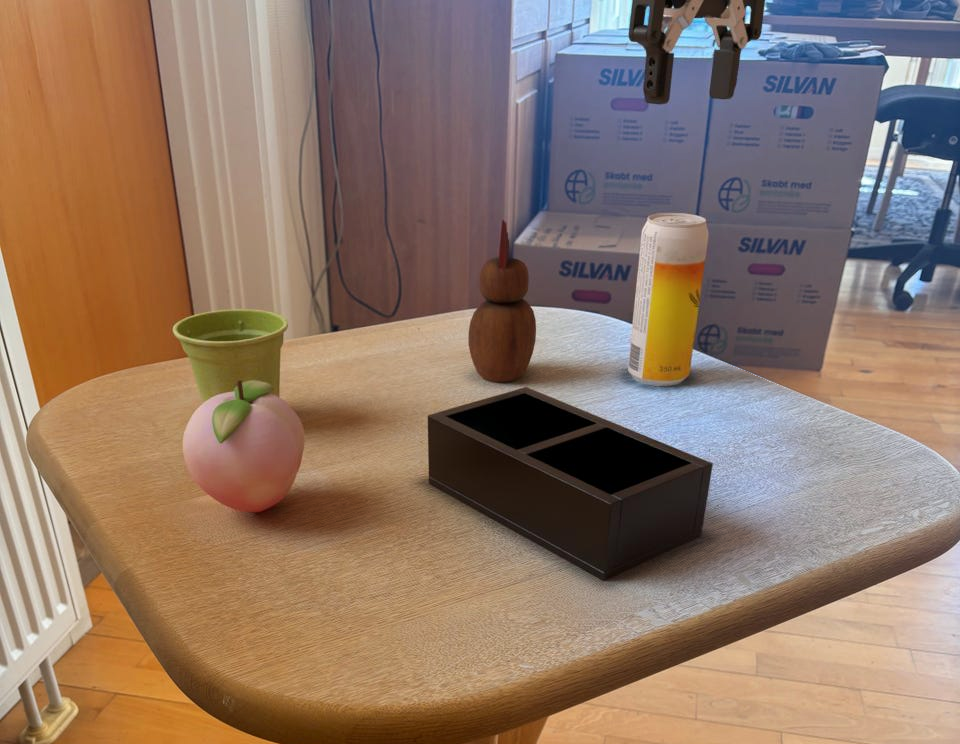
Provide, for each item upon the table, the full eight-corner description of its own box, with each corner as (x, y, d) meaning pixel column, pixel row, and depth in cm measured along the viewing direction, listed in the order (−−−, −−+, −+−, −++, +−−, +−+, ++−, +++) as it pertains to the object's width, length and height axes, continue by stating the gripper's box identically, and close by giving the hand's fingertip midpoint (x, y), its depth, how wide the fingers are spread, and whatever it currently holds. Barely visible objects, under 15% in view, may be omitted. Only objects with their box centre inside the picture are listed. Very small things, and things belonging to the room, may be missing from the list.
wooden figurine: (510, 392, 93) (516, 226, 85) (459, 381, 96) (459, 218, 87) (542, 372, 98) (550, 213, 90) (493, 362, 100) (496, 206, 92)
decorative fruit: (211, 484, 76) (191, 357, 70) (316, 485, 76) (305, 358, 70) (179, 541, 68) (154, 404, 62) (297, 543, 68) (282, 406, 62)
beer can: (701, 383, 96) (724, 221, 88) (652, 393, 94) (671, 227, 85) (662, 365, 100) (681, 209, 92) (614, 374, 98) (630, 215, 89)
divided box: (523, 454, 81) (526, 386, 78) (701, 538, 69) (713, 463, 66) (428, 485, 76) (427, 415, 73) (603, 583, 64) (611, 503, 61)
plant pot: (219, 452, 81) (204, 348, 76) (171, 419, 87) (154, 320, 82) (317, 426, 86) (308, 327, 81) (264, 396, 92) (253, 302, 87)
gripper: (694, -148, 69) (667, 110, 78) (812, -134, 77) (775, 100, 86) (617, -141, 74) (600, 102, 83) (736, -128, 81) (708, 93, 90)
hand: (689, 101), depth 84 cm, fingers open, 8 cm apart
